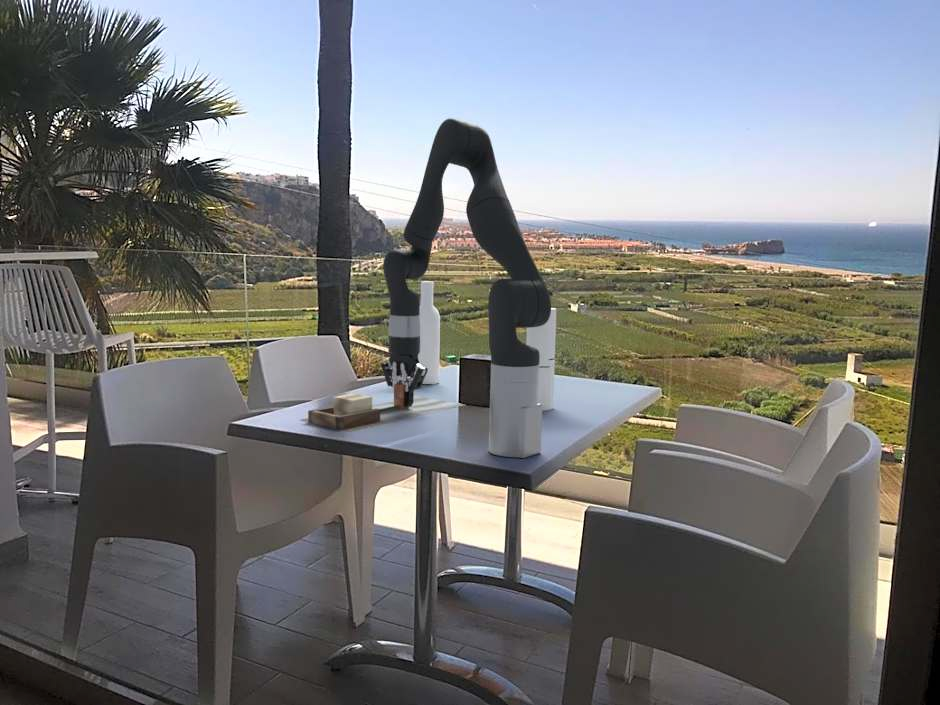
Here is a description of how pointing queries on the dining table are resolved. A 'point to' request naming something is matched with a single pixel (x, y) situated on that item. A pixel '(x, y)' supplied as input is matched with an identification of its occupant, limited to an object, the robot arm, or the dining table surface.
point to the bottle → (429, 334)
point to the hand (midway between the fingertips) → (403, 405)
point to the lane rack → (376, 414)
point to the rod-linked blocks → (366, 402)
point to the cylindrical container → (545, 358)
